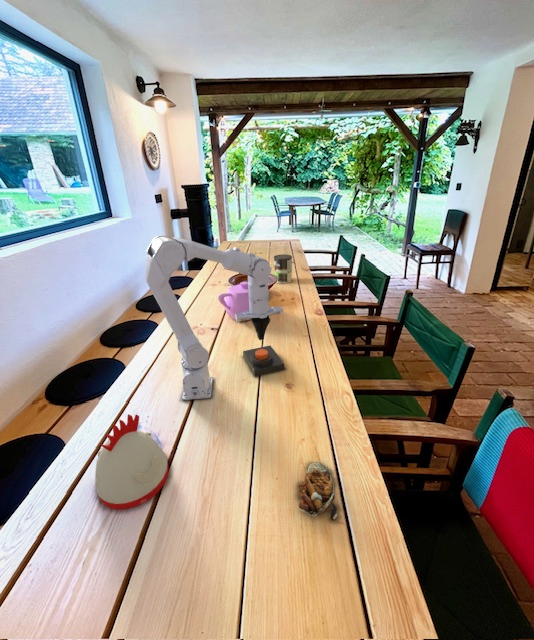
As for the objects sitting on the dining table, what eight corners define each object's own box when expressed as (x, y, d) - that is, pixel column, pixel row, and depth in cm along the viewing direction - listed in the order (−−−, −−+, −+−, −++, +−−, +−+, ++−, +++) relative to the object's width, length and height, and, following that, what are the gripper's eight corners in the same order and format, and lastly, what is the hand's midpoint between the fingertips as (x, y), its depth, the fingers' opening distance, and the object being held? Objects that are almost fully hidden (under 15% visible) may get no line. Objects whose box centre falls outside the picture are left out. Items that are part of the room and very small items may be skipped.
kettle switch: (284, 369, 102) (284, 358, 100) (254, 376, 99) (254, 365, 98) (270, 350, 113) (270, 340, 112) (243, 356, 110) (242, 346, 109)
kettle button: (269, 358, 102) (269, 353, 101) (257, 361, 100) (257, 356, 100) (265, 352, 105) (265, 348, 104) (253, 355, 104) (253, 350, 103)
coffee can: (279, 284, 180) (278, 259, 174) (271, 279, 189) (270, 255, 183) (295, 281, 184) (295, 257, 178) (286, 276, 192) (286, 253, 187)
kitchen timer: (182, 467, 69) (171, 412, 63) (128, 522, 59) (108, 462, 52) (139, 443, 76) (124, 392, 70) (83, 489, 65) (61, 433, 59)
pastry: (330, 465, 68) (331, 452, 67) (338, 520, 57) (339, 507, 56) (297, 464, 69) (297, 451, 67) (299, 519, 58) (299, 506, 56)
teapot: (213, 315, 144) (209, 283, 137) (254, 305, 153) (252, 274, 147) (236, 334, 126) (232, 298, 119) (281, 321, 135) (280, 287, 129)
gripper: (238, 306, 89) (241, 348, 94) (286, 297, 93) (287, 339, 99) (232, 297, 95) (235, 338, 100) (277, 290, 99) (278, 330, 105)
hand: (260, 338), depth 100 cm, fingers closed
